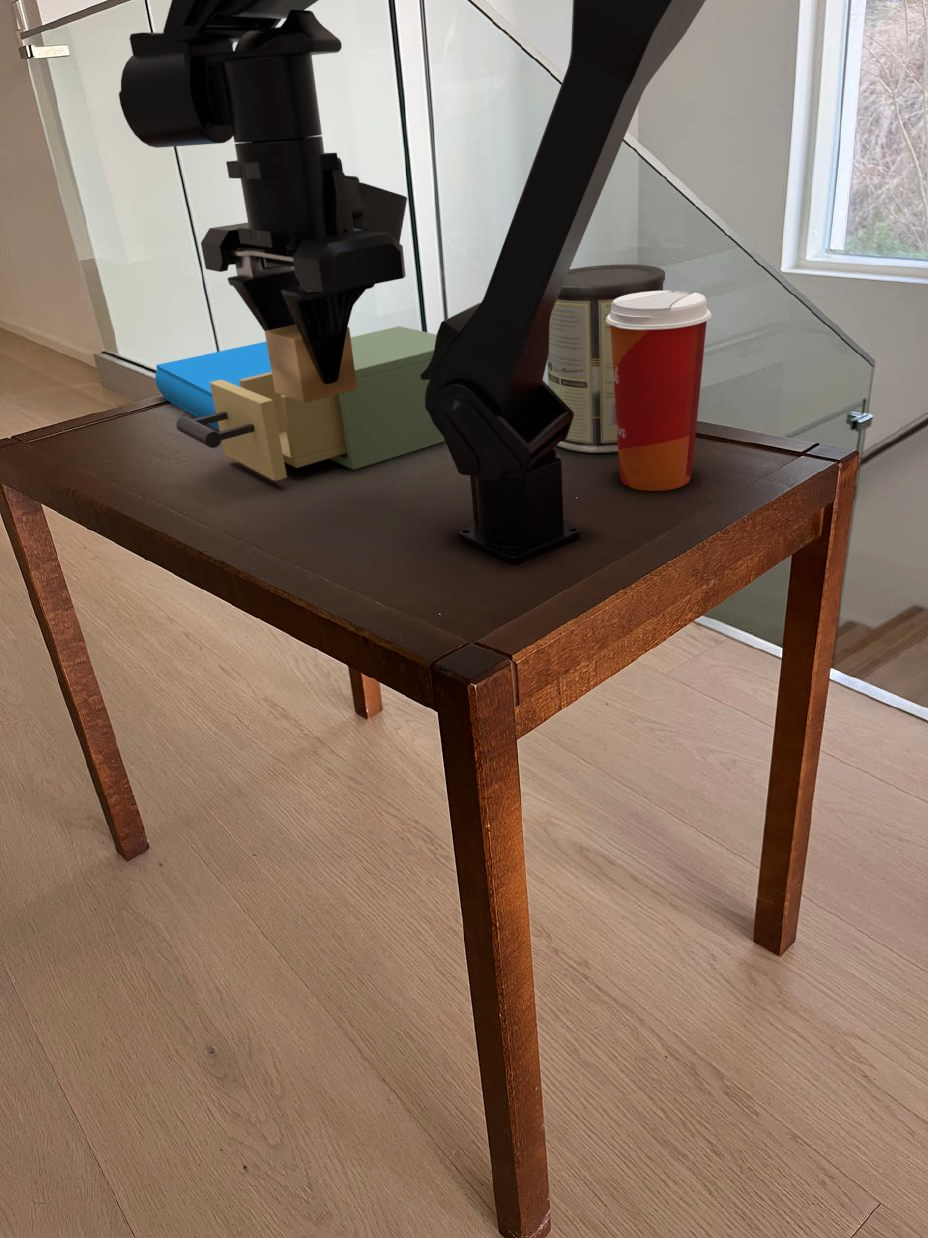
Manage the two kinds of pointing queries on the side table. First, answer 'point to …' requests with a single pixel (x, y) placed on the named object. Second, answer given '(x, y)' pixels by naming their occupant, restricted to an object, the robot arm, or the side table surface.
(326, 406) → the drawer
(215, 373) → the book
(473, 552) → the side table surface
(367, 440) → the cabinet
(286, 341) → the block
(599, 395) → the coffee can
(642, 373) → the paper cup
